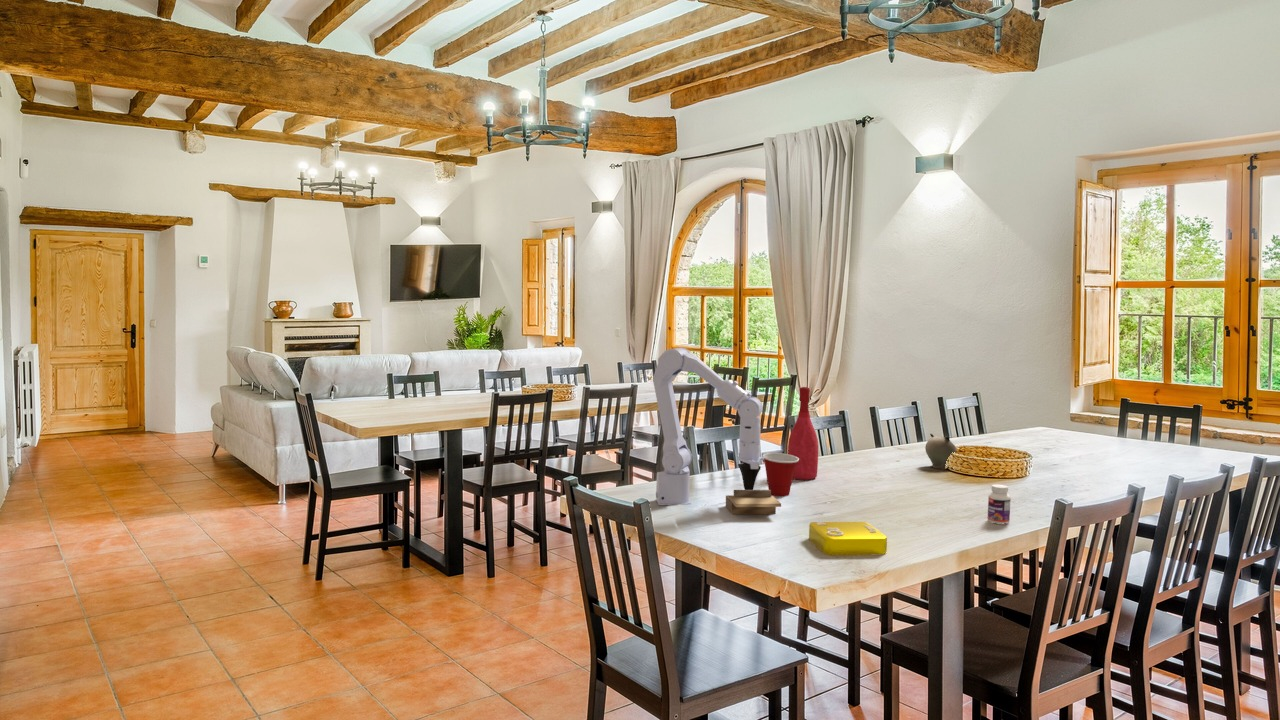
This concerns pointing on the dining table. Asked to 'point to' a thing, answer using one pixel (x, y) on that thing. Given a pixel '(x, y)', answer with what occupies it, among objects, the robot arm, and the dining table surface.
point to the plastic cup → (779, 472)
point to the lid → (754, 498)
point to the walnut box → (748, 508)
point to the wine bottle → (804, 441)
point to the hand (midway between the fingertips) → (748, 490)
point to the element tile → (847, 538)
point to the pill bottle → (999, 504)
